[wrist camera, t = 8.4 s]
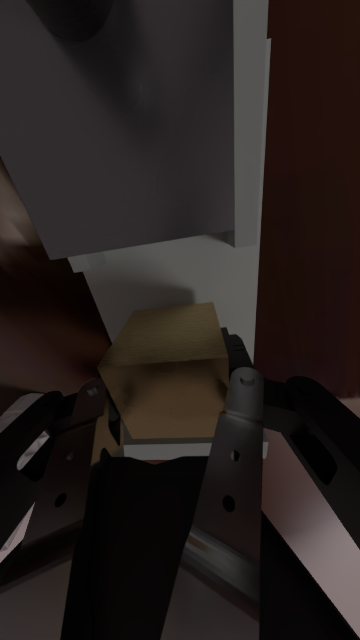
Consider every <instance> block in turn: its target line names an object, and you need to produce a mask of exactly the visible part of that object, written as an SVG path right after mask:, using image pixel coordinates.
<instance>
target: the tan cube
mask: <svg viewBox="0 0 360 640" xmlns="http://www.w3.org/2000/svg"><path fill="white" fill-rule="evenodd" d="M97 369H98V371H99V373H100V375H101V377H102V379H103V381H104V383H105V385H106V387H107V389H108V391H109V393H110V395H111V397H112V399H113V401H114V403H115V405H116V407H117V409H118V411H119V413H120V415H121V417H122V419H123V421H124V423H125V425H126V427H127V429H128V431H129V433H130V435H131V437H132V439H150V438H192V437H214V433H215V429H216V425H217V421H218V417H219V414H220V412H221V411H223V408H224V404H225V400H226V395H227V391H228V387H229V359H228V354H227V350H226V347H225V343H224V339H223V336H222V332H221V328H220V325H219V321H218V317H217V314H216V310H215V306H214V303H213V302H207V303H198V304H189V305H181V306H172V307H163V308H155V309H146V310H137V311H133V313H132V314H131V316H130V317H129V319H128V320H127V322H126V323H125V325H124V326H123V328H122V330H121V331H120V333H119V334H118V336H117V337H116V339H115V340H114V342H113V343H112V345H111V346H110V348H109V349H108V351H107V353H106V354H105V356H104V357H103V359H102V360H101V362H100V363H99V365H98V366H97Z"/></svg>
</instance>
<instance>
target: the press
mask: <svg viewBox="0 0 360 640" xmlns="http://www.w3.org/2000/svg"><path fill="white" fill-rule="evenodd" d="M267 18H268V0H233V86H234V230H231V231H225V232H219V233H213V234H207V235H201V236H194V237H188V238H182V239H176V240H170V241H164V242H158V243H152V244H146V245H140V246H134V247H127V248H121V249H115V250H109V251H103V252H97V253H91V254H85V255H79V256H73V257H67V258H68V260H69V262H70V264H71V267H72V269H73V271H74V273H75V272H82V271H83V273H84V276H85V278H86V281H87V283H88V286H89V288H90V291H91V293H92V295H93V298H94V300H95V303H96V305H97V308H98V310H99V313H100V315H101V317H102V320H103V322H104V325H105V327H106V330H107V332H108V335H109V337H110V339H111V342H112V343H113V342H114V340H115V339H116V337H117V336H118V334H119V333H120V331H121V330H122V328H123V326H124V325H125V323H126V322H127V320H128V319H129V317H130V316H131V314H132V313H133V311H137V310H146V309H155V308H163V307H172V306H181V305H189V304H198V303H207V302H213V303H214V306H215V310H216V314H217V317H218V321H219V325H220V328H221V327H227V330H228V333H229V335H231V334H237V335H238V336H239V337H240V338H242V340H243V343H244V345H245V347H246V350H247V352H248V354H249V357H250V359H251V361H252V364H253V356H254V337H255V319H256V301H257V283H258V265H259V247H260V229H261V210H262V192H263V174H264V156H265V138H266V120H267V102H268V84H269V65H270V47H271V38H270V39H267ZM266 39H267V40H266ZM123 433H124V455H125V457H132V458H135V459H138V460H167V459H175V458H178V457H182V456H209V454H210V449H211V445H212V441H213V437H192V438H150V439H132V437H131V435H130V433H129V431H128V429H127V427H126V425H125V423H124V421H123ZM267 448H268V439H267V437H266V434H265V431H264V428H263V458H266V455H267Z"/></svg>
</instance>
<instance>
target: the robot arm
mask: <svg viewBox="0 0 360 640" xmlns="http://www.w3.org/2000/svg"><path fill="white" fill-rule="evenodd" d="M221 332H222V336H223V339H224V343H225V347H226V350H227V354H228V359H229V387H228V391H227V395H226V400H225V404H224V408H223V411H221V412H220V414H219V417H218V421H217V425H216V429H215V433H214V437H213V441H212V445H211V449H210V454H209V456H182V457H178V458H175V459H172V460H169V461H166V462H163V463H160V464H156V465H153V464H150V463H147V462H144V461H141V460H138V459H135V458H132V457H125V455H124V433H123V419H122V417H121V415H120V413H119V411H118V409H117V407H116V405H115V403H114V401H113V399H112V397H111V395H110V393H109V391H108V389H107V387H106V385H105V383H104V381H103V379H102V377H101V375H100V374H99V375H98V377H97V378H94V379H91V380H89V381H88V382H86V383H85V384H84V385H83V386H82V387H81V388H80V390H79V392H78V393H75V394H72V395H69V396H65V397H64V396H63V395H62V393H61V392H60V391H51V392H48V393H46V394H44V395H43V396H41V397H40V398H38V399H37V400H36V401H35V402H34V403H32V404H31V405H30V406H29V407H28V408H27V409H26V410H25V411H24V412H23V413H21V414H20V415H19V416H18V417H17V418H16V419H15V420H14V421H13V422H12V423H10V424H9V425H8V426H7V427H6V428H5V429H4V430H3V431H2V432H1V433H0V550H1V548H2V547H3V546H4V544H5V543H6V541H7V540H8V539H9V537H10V536H11V535H12V533H13V532H14V530H15V529H16V528H17V526H18V525H19V523H20V522H21V521H22V519H23V518H24V516H25V515H26V514H27V512H28V511H29V509H30V508H31V507H32V505H33V504H34V502H35V504H34V507H33V511H32V514H31V517H30V520H29V523H28V526H27V529H26V532H25V536H24V538H23V540H22V541H21V542H20V543H19V544H18V545H17V546H16V547H15V548H14V549H13V550H12V551H11V552H10V553H9V554H8V555H7V556H6V558H5V559H4V560H3V561H2V562H1V563H0V640H360V638H359V637H358V636H357V634H356V633H355V632H354V630H353V629H352V628H351V626H350V625H349V624H348V622H347V621H346V620H345V619H344V617H343V616H342V615H341V613H340V612H339V611H338V609H337V608H336V607H335V606H334V604H333V603H332V602H331V600H330V599H329V598H328V597H327V595H326V594H325V592H324V591H323V590H322V588H321V587H320V586H319V584H318V583H317V582H316V581H315V579H314V578H313V577H312V575H311V574H310V573H309V571H308V570H307V569H306V568H305V566H304V565H303V564H302V562H301V561H300V560H299V558H298V557H297V556H296V554H295V553H294V552H293V550H292V549H291V548H290V547H289V545H288V544H287V543H286V541H285V540H284V539H283V537H282V536H281V535H280V534H279V532H278V531H277V530H276V528H275V527H274V526H273V524H272V523H271V522H270V520H269V519H268V518H267V516H266V515H265V514H264V513H263V511H262V510H261V502H262V465H263V428H267V429H271V430H274V431H277V432H281V434H282V435H283V437H284V438H285V440H286V441H287V443H288V444H289V446H290V447H291V449H292V450H293V452H294V453H295V455H296V456H297V458H298V459H299V461H300V462H301V463H302V465H303V466H304V468H305V469H306V471H307V472H308V474H309V475H310V477H311V478H312V480H313V481H314V483H315V484H316V486H317V487H318V489H319V490H320V491H321V493H322V495H323V496H324V497H325V499H326V500H327V502H328V503H329V505H330V506H331V508H332V509H333V511H334V512H335V514H336V515H337V517H338V518H339V520H340V521H341V523H342V524H343V526H344V527H345V529H346V530H347V531H348V533H349V534H350V536H351V537H352V539H353V540H354V542H355V543H356V545H357V546H358V548H359V549H360V418H359V417H357V416H356V415H355V414H354V413H353V412H352V411H350V410H349V409H348V408H347V407H346V406H345V405H344V404H342V403H341V402H340V401H339V400H338V399H337V398H336V397H335V396H333V395H332V394H331V393H330V392H329V391H328V390H326V389H325V388H324V387H323V386H322V385H321V384H319V383H318V382H316V381H315V380H313V379H310V378H307V377H302V376H294V377H291V378H289V379H288V380H287V381H286V383H282V382H277V381H272V380H268V379H266V378H264V377H263V376H262V375H261V374H260V373H259V372H258V371H257V370H255V368H254V366H253V364H252V361H251V359H250V357H249V354H248V352H247V350H246V347H245V345H244V343H243V340H242V338H240V337H239V336H238V335H237V334H231V335H229V333H228V330H227V327H221ZM44 431H45V433H46V434H47V435H48V436H49V438H48V439H47V440H46V441H45V442H44V444H43V445H42V446H41V447H40V448H39V449H38V451H37V452H36V453H35V454H34V455H33V456H32V458H31V459H30V460H29V461H28V462H27V463H26V464H25V466H24V467H23V468H22V469H20V470H18V469H17V463H18V461H19V459H20V457H21V456H22V455H23V454H24V453H25V451H26V450H27V449H28V448H29V447H30V446H31V445H32V444H33V443H34V442H35V440H36V439H37V438H38V437H39V436H40V435H41V434H42V433H43V432H44Z"/></svg>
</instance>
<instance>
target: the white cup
mask: <svg viewBox="0 0 360 640" xmlns="http://www.w3.org/2000/svg"><path fill="white" fill-rule="evenodd" d="M43 395H44V394H40V393H30V394H27V395H24V396H21V397H20V398H19V399H18V400H17V401H16V402H15V403H14V404H13V405H12V406H11V407H9V408H8V409H7V410H6V411H5V412H4V413H3V414H2V416H1V417H0V433H1V432H2V431H3V430H4V429H5V428H6V427H7V426H8V425H9V424H10V423H12V422H13V421H14V420H15V419H16V418H17V417H18V416H19V415H20V414H21V413H23V412H24V411H25V410H26V409H27V408H28V407H29V406H30V405H31V404H32V403H34V402H35V401H36V400H37V399H38V398H40V397H41V396H43ZM48 438H49V436H48V435H47V434H46V433H45V431H44V432H43V433H42V434H41V435H40V436H39V437H38V438H37V439H36V440H35V442H34V443H33V444H32V445H31V446H30V447H29V448H28V449H27V450H26V451H25V453H24V454H23V455H22V456H21V457H20V459H19V461H18V463H17V469H18V470H20V469H22V468H23V467H24V466H25V464H26V463H27V462H28V461H29V460H30V459H31V458H32V456H33V455H34V454H35V453H36V452H37V451H38V449H39V448H40V447H41V446H42V445H43V444H44V442H45V441H46V440H47V439H48ZM25 516H26V515H25ZM25 516H24V518H25ZM24 518H23V519H24ZM23 519H22V521H23ZM22 521H21V522H20V523H19V525H18V526H17V528H16V529H15V530H14V532H13V533H12V535H11V536H10V537H9V539H8V540H7V541H6V543H5V544H4V546H3V547H2V548H1V550H0V551H4V550H7V549H8V548H9V546H10V544H11V542H12V540H13V538H14V537H15V535H16V533H17V531H18V529H19V527H20V525H21V523H22Z"/></svg>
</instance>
